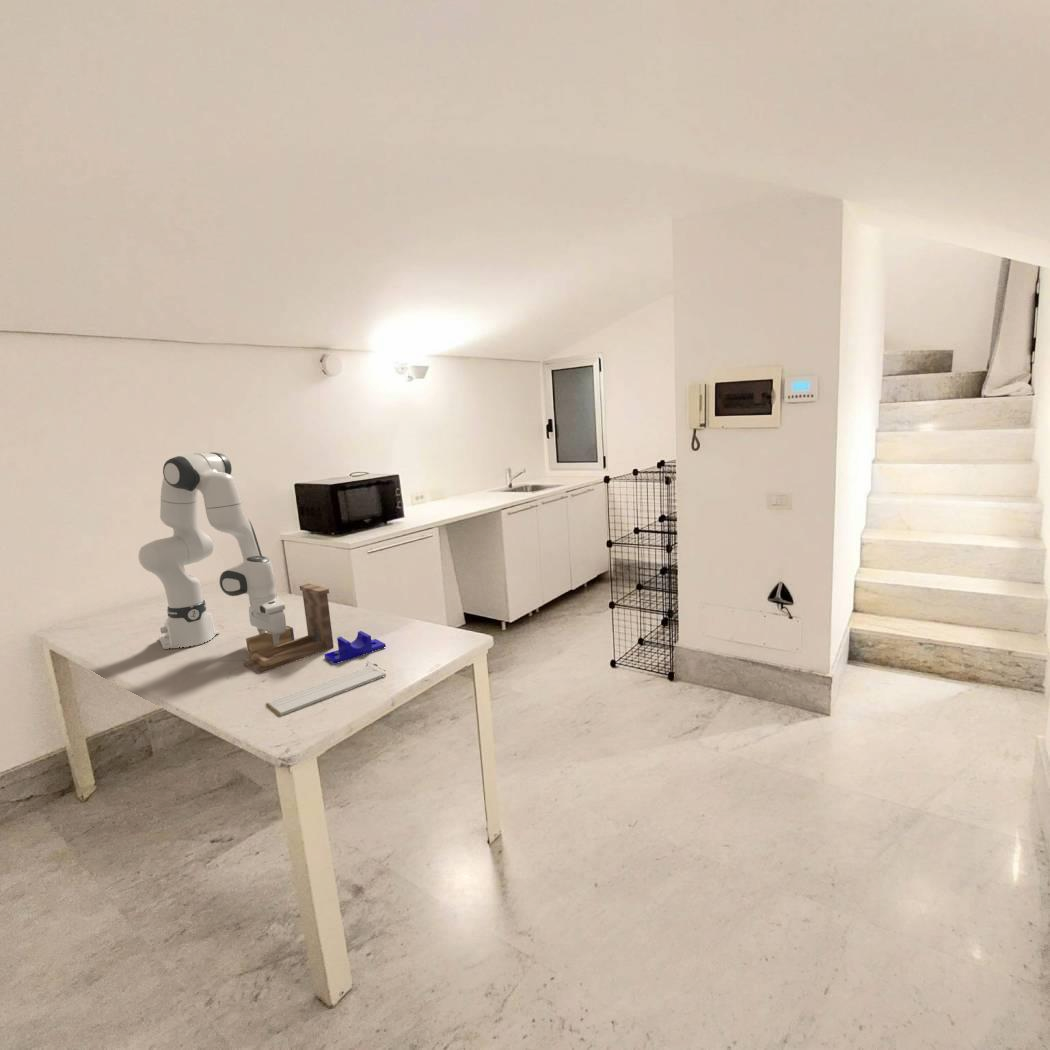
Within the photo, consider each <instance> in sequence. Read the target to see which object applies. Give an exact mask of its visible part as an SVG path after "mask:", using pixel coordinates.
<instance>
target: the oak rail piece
mask: <svg viewBox="0 0 1050 1050" xmlns="http://www.w3.org/2000/svg"><path fill="white" fill-rule="evenodd" d="M272 640H273V636H272V633H269V632H267V631H265V633H263V634H259V633H258V634H257V635H253V636H250V637H247V638H245V641H246V648H247V653H248V652H249V653H248V654H250V653H251V654H253V653H256V652H259V651H262V650H265V649H268V648H271V647H274V646H277V645H273V644H272ZM293 640H295V634H294V627H291V626H290V625H286V631H285V633H282V634H280V637H279V644H278V645H280V644H283V643H286V642H290V641H293Z"/></svg>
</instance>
